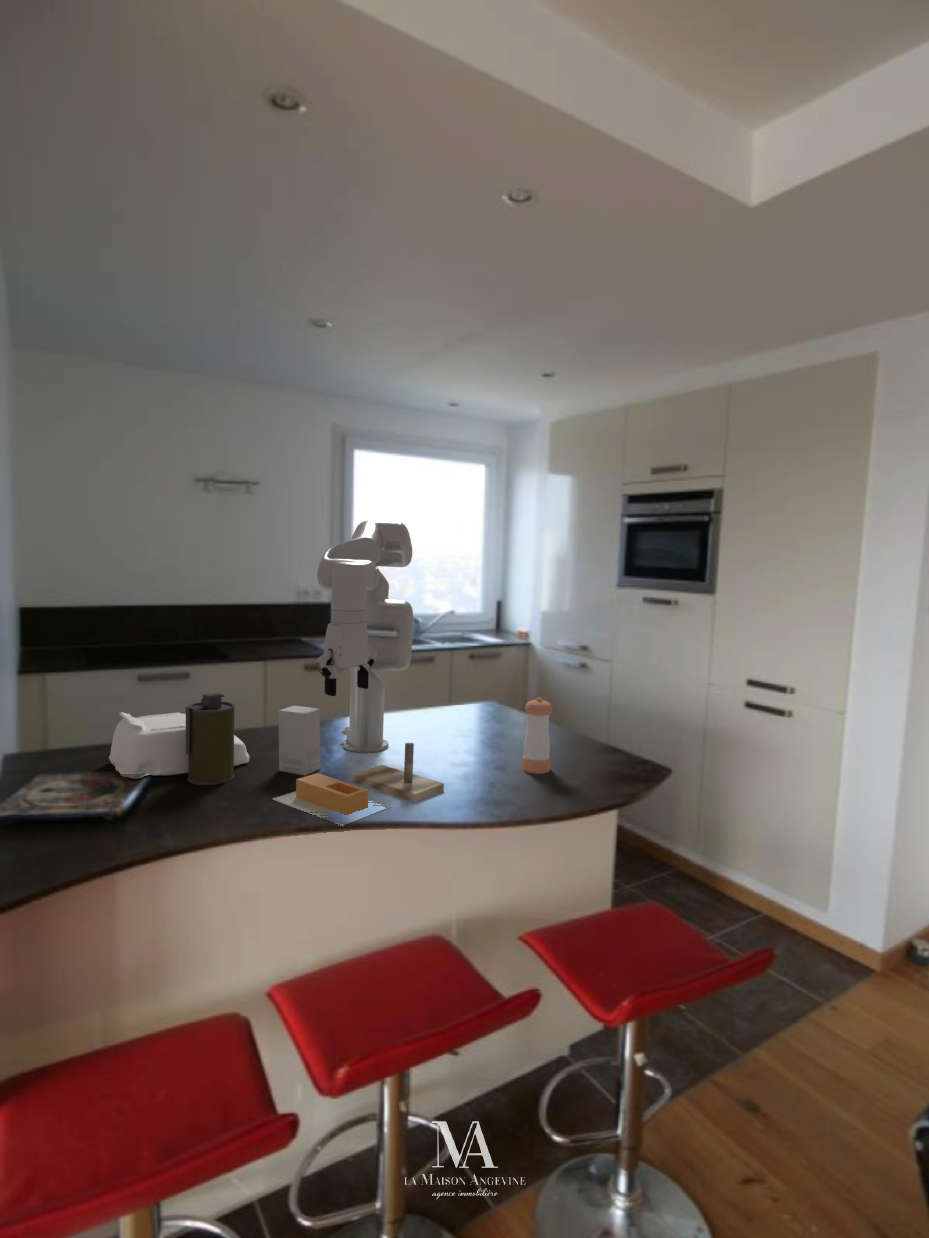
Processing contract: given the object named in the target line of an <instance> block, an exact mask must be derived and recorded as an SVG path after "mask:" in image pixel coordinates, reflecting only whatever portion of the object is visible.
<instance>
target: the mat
mask: <svg viewBox="0 0 929 1238" xmlns="http://www.w3.org/2000/svg"><path fill="white" fill-rule="evenodd" d="M272 800H273V801H275V802H278V803H280V804H282V805H285V806H288V807H290V808H292V809H295V808H296V810H297V811H300V810H301V812H303V811H304V812H303V813H305V812H307V813H306V814H308V813H309V814H308V815H310V814H312V815H311V816H313V815H317V817H316V818H318V817H320V818H319V819H321V817H323V818H324V817H328V816H320V815H321V814H322V815H326V814H328V813H320V812H326V811H330V810H329V809H326V808H324V807H321V806H319V805H316V804H313V803H311V802H308V801H305V800H303V799H300V798H297V797H296V790H295V791H292V792H289V793H286V794H284V795H280V796H276V797H273V798H272ZM371 800H372V799H369V798H368V801H371ZM372 801H374V800H372ZM368 803H370V802H368ZM371 803H375V804H376V803H377V804H381V805H373V806H383V807H385V808H389V809H391V808H390V807H391V806H389V805H387V804H383V803H380V802H378V801H375V802H371ZM382 804H383V805H382ZM321 808H322V809H321ZM331 811H332V810H331ZM310 812H313V813H310ZM315 812H318V813H315ZM329 814H330V813H329ZM336 824H338V825H337V826H339V824H340V823H335V824H334V825H336ZM341 826H343V827H345V826H344V824H340V826H339V827H341Z"/></svg>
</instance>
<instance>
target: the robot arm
mask: <svg viewBox="0 0 929 1238" xmlns="http://www.w3.org/2000/svg"><path fill="white" fill-rule="evenodd" d="M412 559H413V544H412V540H411V535H410V531H409V530H408V528H407V526H406V525H405V523H403V522H401V521H398V520H397V521H396V520H376V519H374V520H373V519H369V520H363V521H362V522H360V523H359V524H358V525H357V526H356V527H355V529H354V532H353V534H352V536H351V538H350V539H349V540H347V541H344V542H342V543H339V544H336V545H334V546H331V547H330V548H328V549H327V550H326V551H325V552H324V554H323V555H322V556H321V559H320V560H319V561H320V562H319V564H318V568H317V572H316V579H317V583H318V584H319V586H320V588H321V589H323V590H325V591H328V592H329V591H330V592H331V605H330V606H331V608H330V609H331V611H330V612H331V613H330V615H331V616H330V618H331V619H330V623H327V627H326V632H325V638H324V647H323V654H321V655H320V656H319V657H318V658H317V659H315V664H316V666H317V668H318V671H319V673H320V674H321V676H322V678H324V694H325V695H326V696H331V697H336V696H337V678H336V675H337V674H338V672H339V670H345V669H349V676H350V677H349V678H350V679H349V682H350V683H349V688H350V689H349V719H348V720H349V724H348V726H345V727H344V729H342V730H341V731H340V732H341V733H340V734H341V735H343V736H346V739H345V740H344V741H343V742H342V746H343V748H344V749H345V750H347V751H350V752H354V753H355V752H356V753H364V754H365V753H376V752H381V751H384V750H386V749H388V748H389V742H388V741H387V740H386V739H384V723H385V722H384V719H385V717H384V714H385V691H386V688H385V683H384V681H383V679H382V677H381V676H380V675H379V673H378V672H377V671H397V672H398V671H399V672H400V671H405V670H407V669H408V668H409V667H410V665H411V661H412V649H413V633H414V631H413V630H414V611H413V607H412V605H411V603H410V602H408V601H406V600H404V599H389V593H390V591H389V590H390V583H389V581H388V580H387V578H386V577H385V575H384V574H383V573H382V571H380V569H379V567H383V568H384V567H387V568H389V567H390V568H406V567H408V566H409V565H410V564H411V561H412ZM369 633H380V635H379V634H378V635H376V634H375V635H374V634H369ZM383 633H384V634H385V633H386V634H394V635H395V636H394V635H381V634H383Z"/></svg>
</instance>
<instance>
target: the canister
mask: <svg viewBox="0 0 929 1238" xmlns="http://www.w3.org/2000/svg"><path fill="white" fill-rule="evenodd" d="M224 697H225V695H224V694H222V693H219V692H215V693H204V694H202V698H201V700H200V701H199V702H194V703H191V704H189V705H188V706H186V707H185V714H186V754H187V755H188V773H187V774H188V776H187V777H186V778H187V779H186V780H187V782H189V783H191V784H193V785H197V786H198V785H199V786H213V785H214V786H215V785H220V784H225V783H227V782H230V781H232V780H233V779H234V778H235V772H234V771H235V770H234V769H235V768H234V767H235V766H234V735H235V708H236V704H234V703H233V702H230V701H224V700H223V699H222V698H224Z"/></svg>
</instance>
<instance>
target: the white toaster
mask: <svg viewBox="0 0 929 1238" xmlns="http://www.w3.org/2000/svg"><path fill="white" fill-rule="evenodd" d="M118 714H119V716H121V718H122V719H121V720H120V721H118V723H117V725H116V727H115V729H114V732H113V735H112V742H111V747H110V755H109V756H108V759H109V761H110V764H112V765H113V767H115V768H114V769H115V771H117V772H119V775H120V774H142V773H149V774H151V775H152V776H164V777H165V776H167V777H168V776H175V775H182V774H188V755H187V754H186V713H182V712H181V713H180V712H171V713H170V712H169V713H162V714H152V715H140V716H138V717H134V716H132V715H131V713H125V712H124V711H121V712H119V713H118ZM247 751H248V750H247V747H246V745H245V743H244V741H242V740H241V739H240V738H239V737H238V736H237V735H235V734H234V767H236V766H239V765H243V764H247V763H249V761H250V754H249V753H248V752H247Z"/></svg>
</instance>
